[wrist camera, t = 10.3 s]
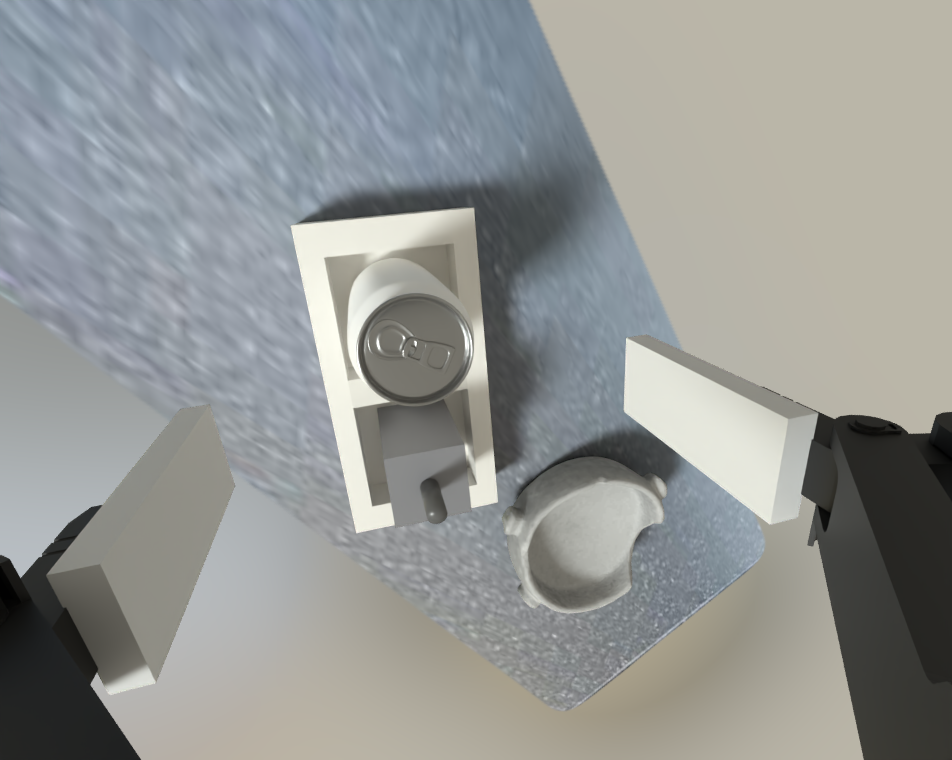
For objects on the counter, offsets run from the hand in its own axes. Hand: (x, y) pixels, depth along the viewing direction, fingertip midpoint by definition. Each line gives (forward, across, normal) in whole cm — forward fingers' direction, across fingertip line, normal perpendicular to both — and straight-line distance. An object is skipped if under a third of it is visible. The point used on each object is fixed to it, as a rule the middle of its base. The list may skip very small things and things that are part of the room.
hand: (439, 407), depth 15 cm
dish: (+21, +13, -23) cm, 34 cm away
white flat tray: (+21, 0, -6) cm, 21 cm away
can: (+20, 0, -1) cm, 20 cm away
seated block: (+20, 0, -11) cm, 23 cm away
